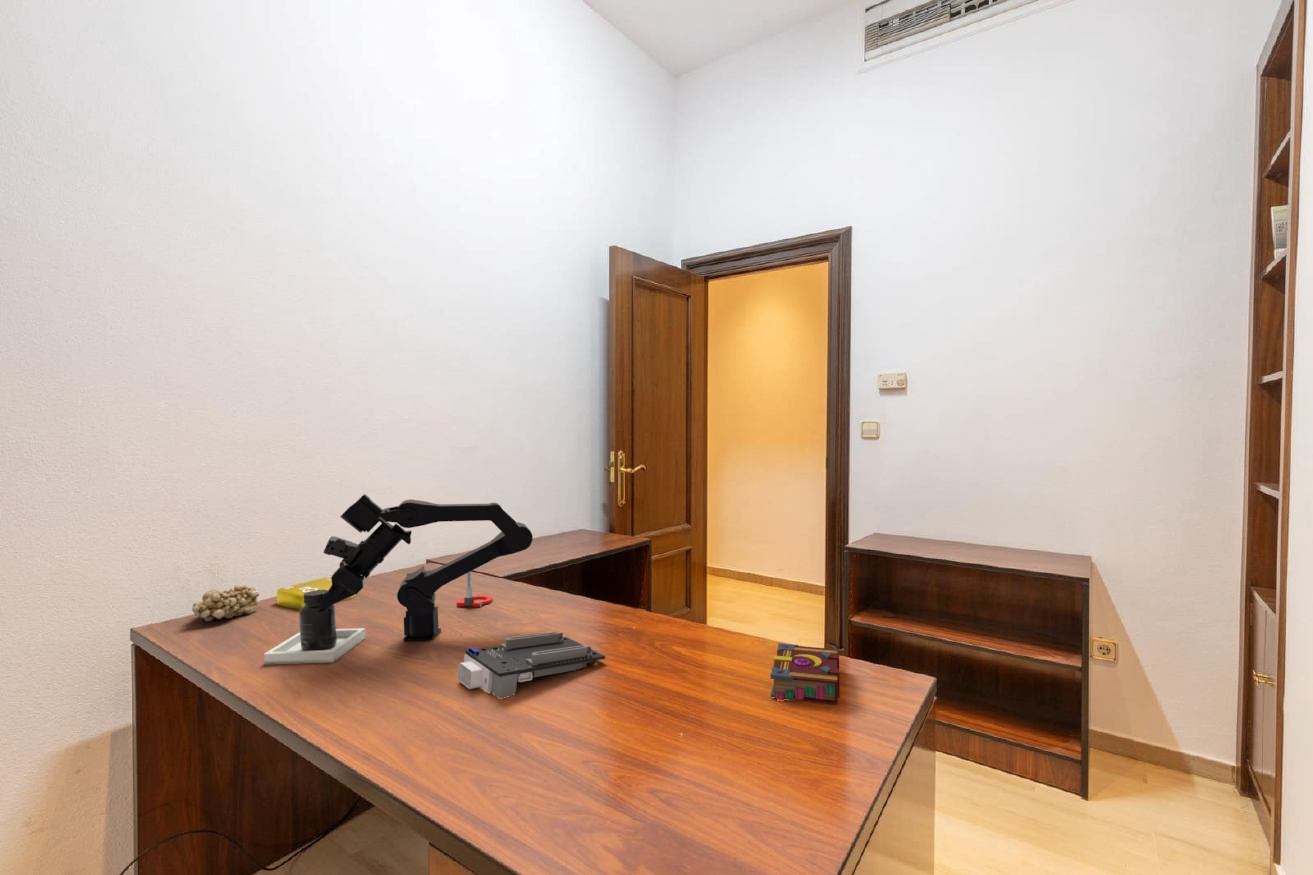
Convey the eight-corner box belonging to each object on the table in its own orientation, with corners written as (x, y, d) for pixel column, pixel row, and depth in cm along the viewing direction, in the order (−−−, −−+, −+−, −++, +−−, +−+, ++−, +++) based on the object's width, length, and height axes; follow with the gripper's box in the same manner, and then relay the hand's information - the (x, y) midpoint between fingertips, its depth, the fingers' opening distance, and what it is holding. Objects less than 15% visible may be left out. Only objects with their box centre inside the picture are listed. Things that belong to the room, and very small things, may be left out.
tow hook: (469, 598, 167) (452, 607, 158) (468, 552, 167) (452, 558, 158) (497, 599, 166) (482, 608, 157) (497, 553, 166) (482, 559, 157)
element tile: (358, 597, 171) (357, 580, 171) (306, 612, 158) (305, 594, 158) (326, 591, 178) (325, 575, 178) (274, 605, 165) (273, 588, 165)
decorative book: (839, 671, 113) (838, 645, 113) (839, 711, 98) (839, 681, 98) (778, 665, 117) (778, 640, 117) (769, 703, 101) (769, 674, 101)
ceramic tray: (365, 637, 136) (365, 628, 136) (333, 662, 123) (333, 651, 122) (303, 639, 136) (303, 630, 136) (264, 664, 122) (264, 653, 122)
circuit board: (603, 681, 118) (563, 660, 130) (606, 647, 119) (566, 628, 130) (485, 705, 102) (451, 678, 114) (488, 665, 103) (455, 642, 114)
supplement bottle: (321, 639, 134) (319, 586, 134) (343, 643, 132) (342, 589, 131) (293, 650, 128) (290, 595, 127) (315, 654, 125) (313, 598, 125)
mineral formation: (266, 609, 160) (224, 624, 145) (218, 618, 160) (171, 634, 145) (261, 579, 160) (219, 591, 145) (213, 588, 161) (166, 601, 146)
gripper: (352, 517, 140) (300, 569, 136) (342, 530, 122) (282, 590, 119) (390, 547, 143) (341, 599, 139) (385, 564, 125) (328, 623, 122)
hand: (323, 602), depth 130 cm, fingers open, 9 cm apart
